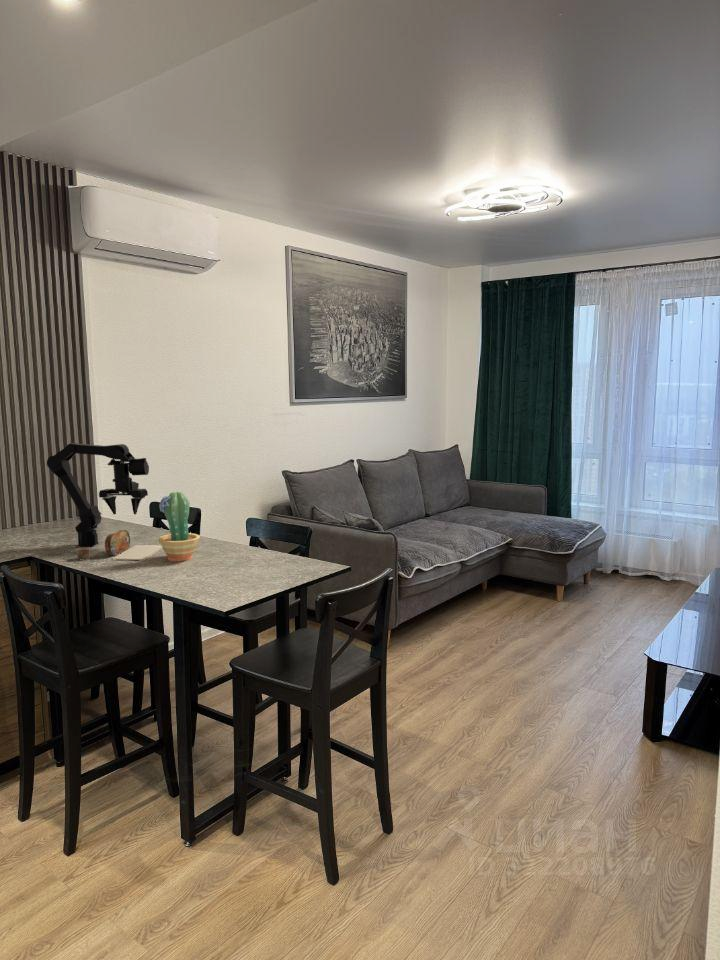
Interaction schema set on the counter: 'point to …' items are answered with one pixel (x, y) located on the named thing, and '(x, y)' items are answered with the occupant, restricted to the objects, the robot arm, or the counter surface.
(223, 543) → the counter surface
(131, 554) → the mat
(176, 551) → the potted cactus
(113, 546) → the tin
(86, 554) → the walnut block
